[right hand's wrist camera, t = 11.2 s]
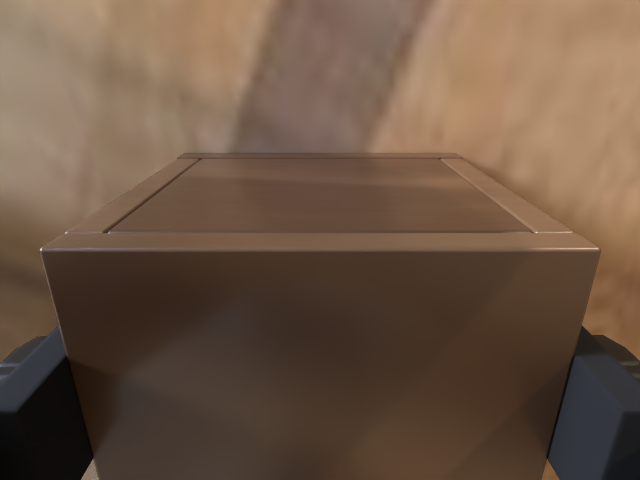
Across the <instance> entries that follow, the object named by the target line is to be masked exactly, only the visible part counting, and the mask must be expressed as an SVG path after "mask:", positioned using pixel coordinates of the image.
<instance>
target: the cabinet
mask: <svg viewBox="0 0 640 480" xmlns="http://www.w3.org/2000/svg"><path fill="white" fill-rule="evenodd" d="M600 253H601V250H600V247H598V246H596V245H595V244H593V243H592V242H590V241H589V240H587V239H586V238H584V237H583V236H581V235H579V234H577V233H574V231H573V230H571V229H570V228H568V227H567V226H565V225H564V224H562V223H560V222H559V221H557V220H556V219H554V218H553V217H551V216H550V215H548V214H546V213H545V212H543V211H542V210H540V209H539V208H537V207H536V206H534V205H533V204H531V203H529V202H528V201H526V200H525V199H523V198H522V197H520V196H519V195H517V194H516V193H514V192H512V191H511V190H509V189H508V188H506V187H505V186H503V185H502V184H500V183H498V182H497V181H495V180H494V179H492V178H491V177H489V176H488V175H486V174H485V173H483V172H481V171H480V170H478V169H477V168H475V167H474V166H472V165H471V164H469V163H468V162H466V161H464V160H463V159H462V157H461V156H459V155H458V154H456V153H184V154H183V155H181V156H179V157H178V158H177V160H176V161H174V162H172V163H171V164H169V165H168V166H166V167H165V168H163V169H162V170H160V171H159V172H157V173H156V174H154V175H152V176H151V177H149V178H148V179H146V180H145V181H143V182H142V183H140V184H139V185H137V186H135V187H134V188H132V189H131V190H129V191H128V192H126V193H125V194H123V195H122V196H120V197H118V198H117V199H115V200H114V201H112V202H111V203H109V204H108V205H106V206H105V207H103V208H102V209H100V210H98V211H97V212H95V213H94V214H92V215H91V216H89V217H88V218H86V219H85V220H83V221H81V222H80V223H78V224H77V225H75V226H74V227H72V228H71V229H69V230H68V231H66V233H64V234H61V235H60V236H58V237H57V238H55V239H54V240H52V241H51V242H49V243H47V244H46V245H44V246H43V247H41V248H40V256H41V260H42V264H43V267H44V271H45V275H46V279H47V283H48V287H49V290H50V294H51V298H52V302H53V306H54V310H55V313H56V317H57V321H58V325H59V329H60V332H61V336H62V340H63V344H64V348H65V352H66V355H67V359H68V363H69V367H70V371H71V375H72V378H73V382H74V386H75V390H76V394H77V398H78V401H79V405H80V409H81V413H82V417H83V421H84V424H85V428H86V432H87V436H88V440H89V444H90V447H91V451H92V455H93V459H94V463H95V467H96V470H97V474H98V478H99V480H541V479H542V476H543V472H544V468H545V464H546V460H547V456H548V453H549V449H550V445H551V441H552V437H553V433H554V429H555V426H556V422H557V418H558V414H559V410H560V406H561V403H562V399H563V395H564V391H565V387H566V383H567V380H568V376H569V372H570V368H571V364H572V360H573V357H574V353H575V349H576V345H577V341H578V337H579V333H580V330H581V326H582V322H583V318H584V314H585V310H586V307H587V303H588V299H589V295H590V291H591V287H592V284H593V280H594V276H595V272H596V268H597V264H598V261H599V257H600Z"/></svg>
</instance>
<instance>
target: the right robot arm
mask: <svg viewBox="0 0 640 480" xmlns="http://www.w3.org/2000/svg"><path fill="white" fill-rule="evenodd" d="M92 459H93V455H92V451H91V447H90V444H89V440H88V436H87V432H86V428H85V424H84V421H83V417H82V413H81V409H80V405H79V401H78V398H77V394H76V390H75V386H74V382H73V378H72V375H71V371H70V367H69V363H68V359H67V355H66V352H65V348H64V344H63V340H62V336H61V332H60V329H59V326H58V327H57V328H56V329H55V330H54V331H52V332H51V333H50V334H49V335H48V336H47V337H36V338H34V339H33V340H31V341H29V342H27V343H26V344H24V345H22V346H20V347H19V348H17V349H15V350H14V351H13V352H12V353H11V354H10V355H9V356H8V357H7V358H6V359H5V360H3V361H2V362H1V363H0V480H81V478H82V477H83V475H84V473H85V471H86V470H87V468H88V466H89V465H90V463H91V461H92ZM547 459H548V460H549V462H550V464H551V466H552V467H553V469H554V471H555V472H556V474H557V476H558V478H559V479H560V480H640V361H639V360H638V359H637V358H636V357H635V356H634V355H633V354H632V353H630V352H629V351H628V350H627V349H626V348H625V347H623V346H621V345H619V344H618V343H616V342H614V341H612V340H611V339H609V338H607V337H605V336H604V335H591V334H590V333H589V332H588V331H587V330H586V329H585V328H584V327H583V326H581V330H580V333H579V337H578V341H577V345H576V349H575V353H574V357H573V360H572V364H571V368H570V372H569V376H568V380H567V383H566V387H565V391H564V395H563V399H562V403H561V406H560V410H559V414H558V418H557V422H556V426H555V429H554V433H553V437H552V441H551V445H550V449H549V453H548V456H547Z"/></svg>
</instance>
